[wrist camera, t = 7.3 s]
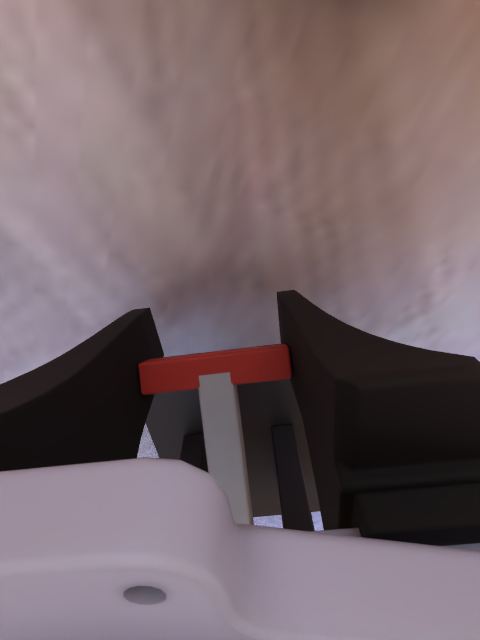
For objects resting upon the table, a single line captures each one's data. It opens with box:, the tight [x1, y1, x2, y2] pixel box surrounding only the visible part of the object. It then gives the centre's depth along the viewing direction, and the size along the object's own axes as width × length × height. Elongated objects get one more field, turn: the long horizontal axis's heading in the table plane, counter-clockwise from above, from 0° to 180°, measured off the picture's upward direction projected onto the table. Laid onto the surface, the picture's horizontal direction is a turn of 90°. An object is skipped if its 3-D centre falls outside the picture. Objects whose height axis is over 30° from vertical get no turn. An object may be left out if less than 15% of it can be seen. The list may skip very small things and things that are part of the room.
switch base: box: [146, 379, 320, 532], centre depth 13 cm, size 10×8×9 cm
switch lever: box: [138, 344, 292, 525], centre depth 10 cm, size 10×5×2 cm, turn 6°
